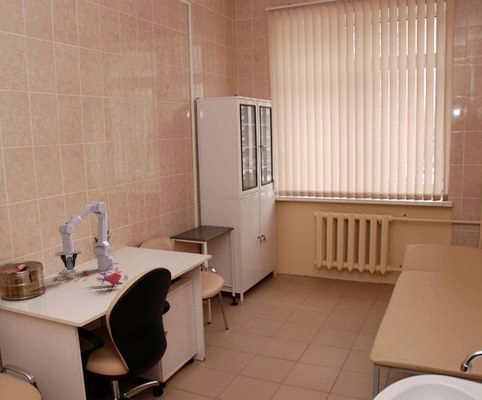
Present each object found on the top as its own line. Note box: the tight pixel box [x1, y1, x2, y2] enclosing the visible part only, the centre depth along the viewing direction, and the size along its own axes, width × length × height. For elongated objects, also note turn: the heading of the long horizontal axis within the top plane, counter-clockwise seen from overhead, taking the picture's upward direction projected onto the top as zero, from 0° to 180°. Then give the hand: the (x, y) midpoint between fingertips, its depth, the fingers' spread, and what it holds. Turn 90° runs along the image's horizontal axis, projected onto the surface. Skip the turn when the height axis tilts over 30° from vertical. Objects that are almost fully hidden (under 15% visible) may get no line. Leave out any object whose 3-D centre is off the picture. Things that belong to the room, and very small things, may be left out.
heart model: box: [96, 262, 129, 292], centre depth 266 cm, size 15×9×18 cm
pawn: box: [66, 255, 75, 270], centre depth 278 cm, size 4×4×8 cm
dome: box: [61, 267, 71, 274], centre depth 286 cm, size 6×6×6 cm
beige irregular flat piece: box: [54, 269, 92, 285], centre depth 284 cm, size 22×17×4 cm
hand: (70, 266), depth 278 cm, fingers closed on pawn, 4 cm apart
